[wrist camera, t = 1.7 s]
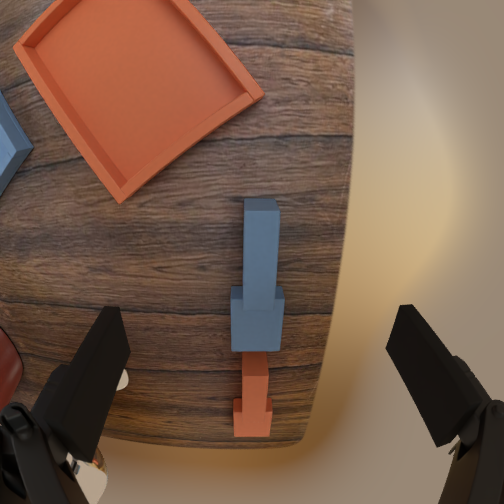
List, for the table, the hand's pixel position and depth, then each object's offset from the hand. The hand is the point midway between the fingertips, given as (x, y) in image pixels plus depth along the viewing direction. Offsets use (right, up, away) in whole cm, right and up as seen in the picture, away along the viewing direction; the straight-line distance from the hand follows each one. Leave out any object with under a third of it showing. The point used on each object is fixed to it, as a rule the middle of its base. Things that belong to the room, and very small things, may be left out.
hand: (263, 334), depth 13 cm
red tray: (-9, +17, +3) cm, 20 cm away
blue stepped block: (0, +2, +10) cm, 11 cm away
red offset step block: (0, -11, +16) cm, 19 cm away
